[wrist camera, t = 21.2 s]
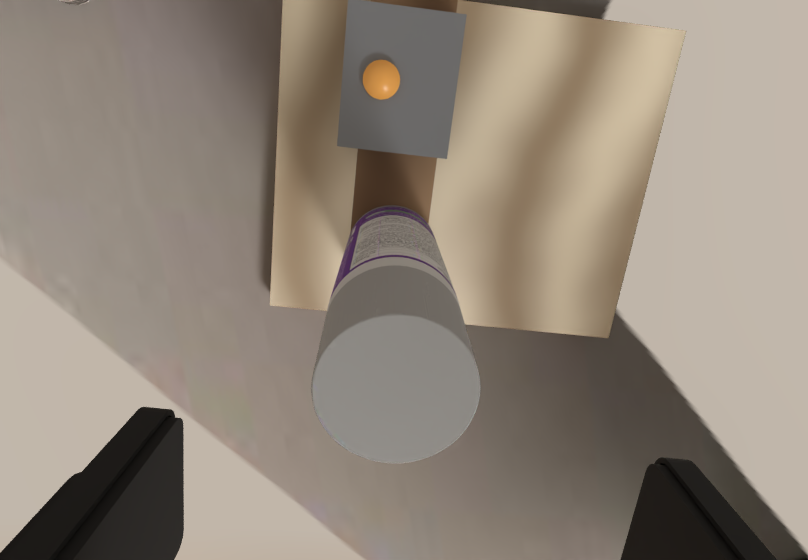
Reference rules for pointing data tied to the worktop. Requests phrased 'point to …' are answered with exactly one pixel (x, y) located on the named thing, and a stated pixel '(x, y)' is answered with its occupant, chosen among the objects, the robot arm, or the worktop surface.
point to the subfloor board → (483, 162)
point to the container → (394, 345)
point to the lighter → (75, 1)
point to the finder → (399, 78)
